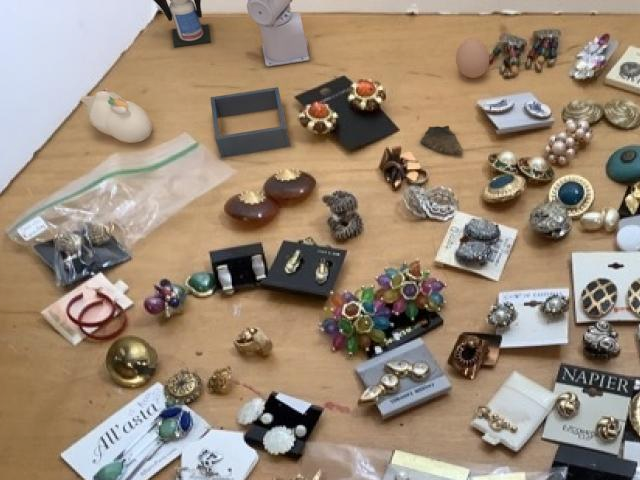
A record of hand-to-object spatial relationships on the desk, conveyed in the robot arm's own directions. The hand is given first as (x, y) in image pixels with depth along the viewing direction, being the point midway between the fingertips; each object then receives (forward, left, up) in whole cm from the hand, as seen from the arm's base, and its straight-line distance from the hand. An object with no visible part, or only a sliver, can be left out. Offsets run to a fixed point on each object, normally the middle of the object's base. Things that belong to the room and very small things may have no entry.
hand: (185, 16), depth 179 cm
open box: (-10, +37, -5) cm, 39 cm away
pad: (0, 0, -5) cm, 5 cm away
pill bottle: (0, 0, -5) cm, 5 cm away
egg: (-58, +30, -5) cm, 66 cm away
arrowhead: (-47, +51, -5) cm, 70 cm away
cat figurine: (+15, +31, -5) cm, 35 cm away
